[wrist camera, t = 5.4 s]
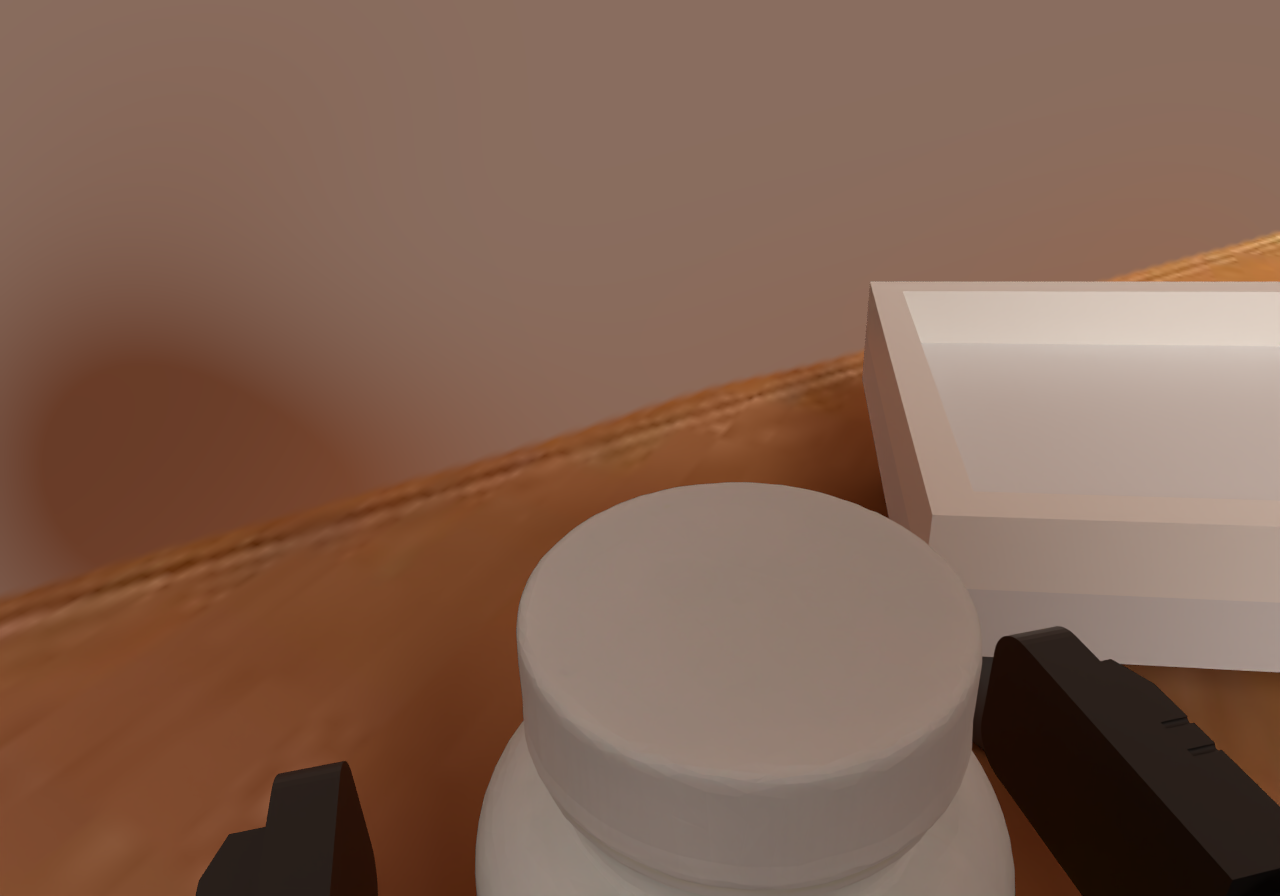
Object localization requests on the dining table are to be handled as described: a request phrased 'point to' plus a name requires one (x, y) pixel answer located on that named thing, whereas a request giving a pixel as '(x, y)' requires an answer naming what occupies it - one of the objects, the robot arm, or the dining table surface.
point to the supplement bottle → (744, 709)
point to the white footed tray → (1090, 459)
